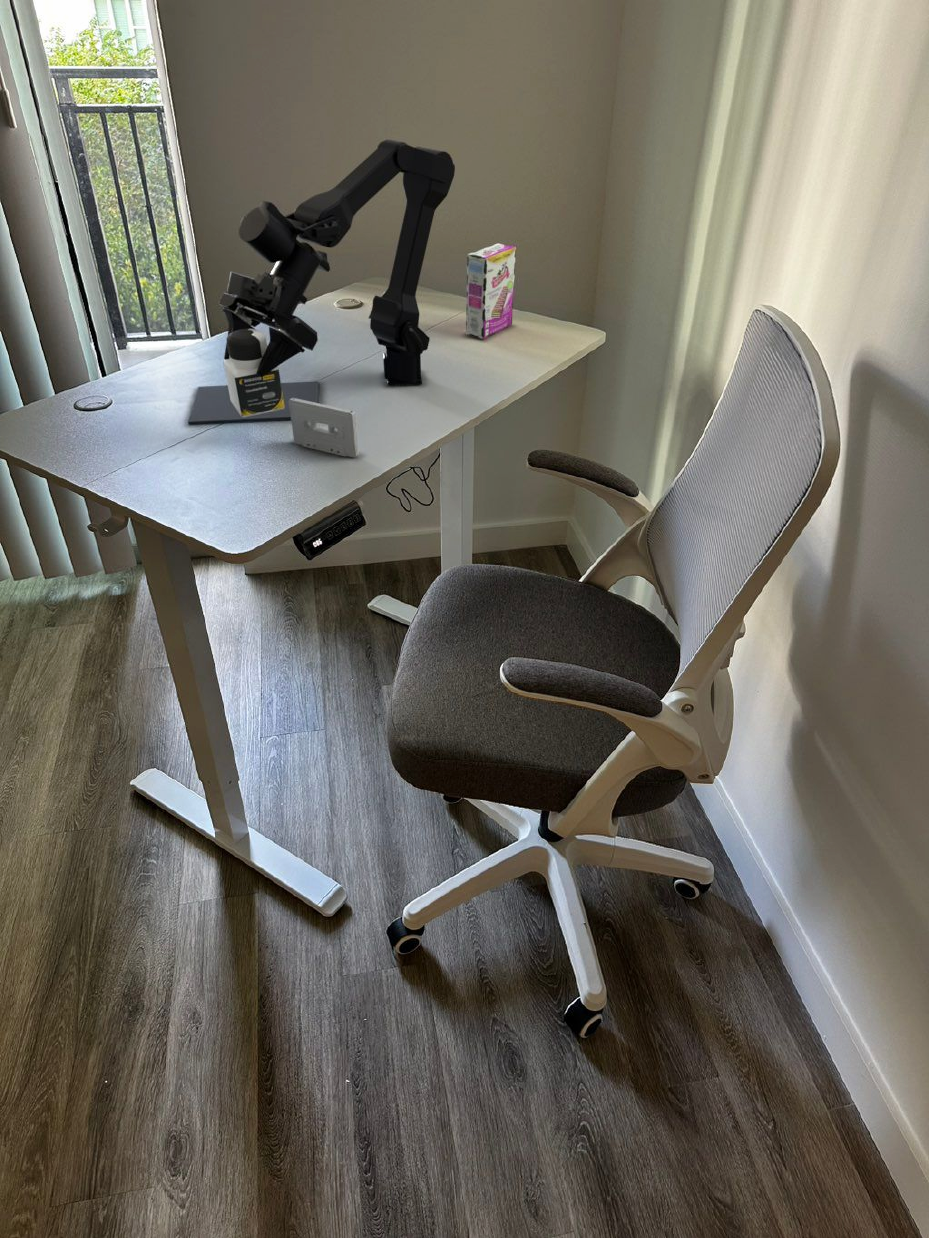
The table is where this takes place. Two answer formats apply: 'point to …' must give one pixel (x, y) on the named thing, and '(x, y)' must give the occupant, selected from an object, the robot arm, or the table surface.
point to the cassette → (330, 439)
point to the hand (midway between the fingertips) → (242, 368)
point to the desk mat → (218, 408)
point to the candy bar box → (490, 290)
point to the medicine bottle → (251, 375)
